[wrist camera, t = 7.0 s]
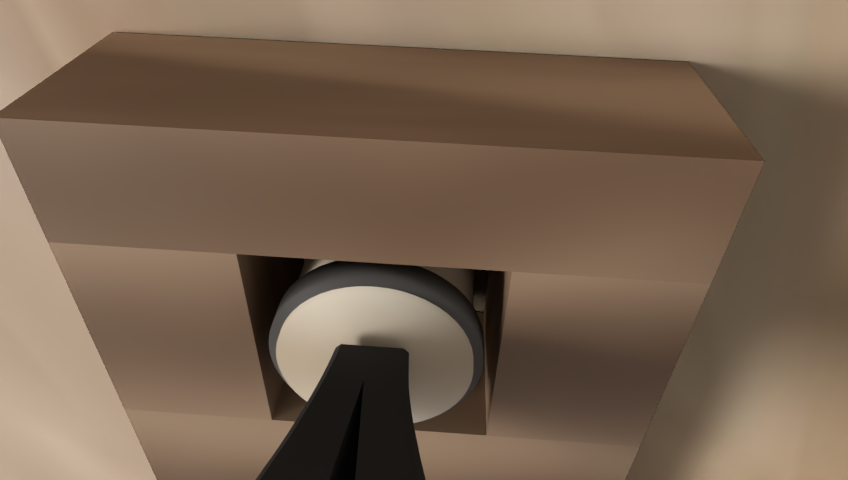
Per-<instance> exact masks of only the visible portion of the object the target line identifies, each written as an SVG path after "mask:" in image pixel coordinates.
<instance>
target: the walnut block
mask: <svg viewBox="0 0 848 480" xmlns="http://www.w3.org/2000/svg"><path fill="white" fill-rule="evenodd" d="M0 139H1V141H2V143H3V145H4V147H5V149H6V152H7V154H8V156H9V158H10V160H11V163H12V165H13V167H14V169H15V171H16V173H17V176H18V178H19V180H20V182H21V184H22V187H23V189H24V191H25V193H26V195H27V197H28V200H29V202H30V204H31V206H32V208H33V210H34V213H35V215H36V217H37V219H38V221H39V224H40V226H41V228H42V230H43V232H44V234H45V237H46V239H47V241H48V243H49V245H50V248H51V250H52V252H53V254H54V256H55V258H56V261H57V263H58V265H59V267H60V269H61V272H62V274H63V276H64V278H65V280H66V282H67V285H68V287H69V289H70V291H71V293H72V295H73V298H74V300H75V302H76V304H77V306H78V309H79V311H80V313H81V315H82V317H83V319H84V322H85V324H86V326H87V328H88V330H89V333H90V335H91V337H92V339H93V341H94V343H95V346H96V348H97V350H98V352H99V354H100V356H101V359H102V361H103V363H104V365H105V367H106V370H107V372H108V374H109V376H110V378H111V380H112V383H113V385H114V387H115V389H116V391H117V394H118V396H119V398H120V400H121V402H122V404H123V407H124V409H125V411H126V413H127V415H128V418H129V420H130V422H131V424H132V426H133V428H134V431H135V433H136V435H137V437H138V439H139V441H140V444H141V446H142V448H143V450H144V452H145V455H146V457H147V459H148V461H149V463H150V465H151V468H152V470H153V472H154V474H155V476H156V479H157V480H256V478H257V477H258V475H259V474H260V473H261V471H262V470H263V468H264V467H265V466H266V464H267V463H268V461H269V460H270V459H271V457H272V456H273V454H274V453H275V451H276V450H277V449H278V447H279V446H280V444H281V443H282V441H283V440H284V438H285V437H286V435H287V434H288V432H289V430H290V429H291V427H292V426H293V424H294V423H295V421H296V419H297V418H298V416H299V415H300V413H301V411H302V410H303V408H304V407H305V405H306V403H307V401H305V400H304V399H303V398H302V397H300V396H299V395H298V394H297V393H296V392H295V391H294V390H293V389H292V388H291V387H290V386H289V385H288V384H287V383H286V382H285V381H284V380H283V379H282V377H281V376H280V374H279V373H278V371H277V370H276V368H275V366H274V363H273V361H272V358H271V355H270V351H269V332H270V329H271V326H272V323H273V320H274V317H275V315H276V312H277V309H278V306H279V304H280V301H281V299H282V298H283V296H284V294H285V292H286V291H287V290H288V289H289V287H290V286H291V285H292V284H293V283H294V282H295V281H296V280H298V279H299V276H300V273H301V271H302V268H303V265H304V259H320V260H336V261H352V262H368V263H383V264H399V265H415V266H431V267H446V268H462V269H478V270H489V275H488V283H487V291H486V299H485V307H484V313H481V312H477V314H478V316H479V319H480V322H481V325H482V331H483V369H482V373H481V376H480V378H479V381H478V383H477V385H476V386H475V388H474V389H473V390H472V392H471V393H470V394H469V395H468V396H467V397H466V398H465V399H464V400H463V401H461V402H460V403H459V404H458V405H456V406H454V407H453V408H451V409H449V410H448V411H445V412H443V413H442V414H440V415H437V416H435V417H433V418H430V419H427V420H424V421H421V422H416V423H414V429H415V434H416V439H417V443H418V448H419V453H420V458H421V462H422V466H423V471H424V475H425V479H426V480H625V479H626V477H627V474H628V472H629V470H630V468H631V465H632V463H633V461H634V458H635V456H636V454H637V452H638V449H639V447H640V445H641V442H642V440H643V438H644V436H645V433H646V431H647V429H648V426H649V424H650V422H651V420H652V417H653V415H654V413H655V410H656V408H657V406H658V404H659V401H660V399H661V397H662V395H663V392H664V390H665V388H666V385H667V383H668V381H669V379H670V376H671V374H672V372H673V369H674V367H675V365H676V363H677V360H678V358H679V356H680V353H681V351H682V349H683V347H684V344H685V342H686V340H687V337H688V335H689V333H690V331H691V328H692V326H693V324H694V321H695V319H696V317H697V315H698V312H699V310H700V308H701V305H702V303H703V301H704V299H705V296H706V294H707V292H708V289H709V287H710V285H711V283H712V280H713V278H714V276H715V273H716V271H717V269H718V267H719V264H720V262H721V260H722V257H723V255H724V253H725V251H726V248H727V246H728V244H729V242H730V239H731V237H732V235H733V232H734V230H735V228H736V226H737V223H738V221H739V219H740V216H741V214H742V212H743V210H744V207H745V205H746V203H747V200H748V198H749V196H750V194H751V191H752V189H753V187H754V184H755V182H756V180H757V178H758V175H759V173H760V171H761V168H762V166H763V164H764V162H765V161H764V160H763V158H762V157H761V156H760V155H759V153H758V152H757V151H756V149H755V148H754V147H753V145H752V144H751V143H750V141H749V140H748V139H747V138H746V136H745V135H744V134H743V132H742V131H741V130H740V128H739V127H738V126H737V124H736V123H735V122H734V121H733V119H732V118H731V117H730V115H729V114H728V113H727V111H726V110H725V109H724V108H723V106H722V105H721V104H720V102H719V101H718V100H717V98H716V97H715V96H714V94H713V93H712V92H711V91H710V89H709V88H708V87H707V85H706V84H705V83H704V81H703V80H702V79H701V77H700V76H699V75H698V74H697V72H696V71H695V70H694V68H693V67H692V66H691V64H690V63H689V62H682V61H663V60H643V59H624V58H604V57H585V56H565V55H546V54H526V53H507V52H487V51H468V50H448V49H428V48H409V47H389V46H370V45H350V44H331V43H311V42H292V41H272V40H253V39H233V38H214V37H194V36H175V35H155V34H136V33H116V32H112V33H111V34H109V35H108V36H106V37H105V38H103V39H102V40H101V41H99V42H98V43H96V44H95V45H93V46H92V47H91V48H89V49H88V50H86V51H85V52H83V53H82V54H81V55H79V56H78V57H76V58H75V59H74V60H72V61H71V62H69V63H68V64H66V65H65V66H64V67H62V68H61V69H59V70H58V71H56V72H55V73H54V74H52V75H51V76H49V77H48V78H46V79H45V80H44V81H42V82H41V83H39V84H38V85H37V86H35V87H34V88H32V89H31V90H29V91H28V92H27V93H25V94H24V95H22V96H21V97H19V98H18V99H17V100H15V101H14V102H12V103H11V104H9V105H8V106H7V107H5V108H4V109H2V110H1V111H0Z"/></svg>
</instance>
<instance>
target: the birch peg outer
mask: <svg viewBox="0 0 848 480" xmlns="http://www.w3.org/2000/svg"><path fill="white" fill-rule="evenodd" d="M340 344H348V345H362V346H376V347H391V348H404V349H405V350H406V351H407V352H409V395H410V403H411V411H412V417H413V423H416V422H421V421H424V420H427V419H430V418H433V417H435V416H437V415H440V414H442V413H443V412H445V411H448V410H449V409H451V408H453V407H454V406H456V405H458V404H459V403H460V402H461V401H463V400H464V399H465V398H466V397H467V396H468V395H469V394H470V393H471V392H472V390H473V389H474V388H475V386H476V385H477V383H478V381H479V378H480V376H481V373H482V369H483V331H482V325H481V322H480V319H479V316H478V314H477V312H476V311H475V309H474V307H473V269H462V268H446V267H431V266H415V265H399V264H383V263H368V262H352V261H336V260H320V259H305V262H304V265H303V268H302V271H301V273H300V276H299V279H298V280H296V281H295V282H294V283H293V284H292V285H291V286H290V287H289V289H288V290H287V291H286V292H285V294H284V296H283V298H282V299H281V301H280V304H279V306H278V309H277V312H276V315H275V317H274V320H273V323H272V326H271V329H270V332H269V351H270V355H271V358H272V361H273V363H274V366H275V368H276V370H277V371H278V373H279V374H280V376H281V377H282V379H283V380H284V381H285V382H286V383H287V384H288V385H289V386H290V387H291V388H292V389H293V390H294V391H295V392H296V393H297V394H298V395H299V396H300V397H302V398H303V399H304V400H305V401H307V402H308V400H309V398H310V396H311V395H312V393H313V391H314V390H315V388H316V386H317V384H318V382H319V381H320V379H321V377H322V375H323V373H324V371H325V369H326V367H327V365H328V363H329V361H330V359H331V357H332V355H333V352H334V350H335V348H336V347H337V346H339V345H340Z"/></svg>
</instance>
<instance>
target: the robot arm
mask: <svg viewBox="0 0 848 480" xmlns="http://www.w3.org/2000/svg"><path fill="white" fill-rule="evenodd" d="M256 480H426V479H425V475H424V471H423V466H422V462H421V458H420V453H419V448H418V443H417V439H416V434H415V429H414V423H413V417H412V411H411V403H410V395H409V352H407V351H406V350H405V349H404V348H391V347H376V346H362V345H348V344H340V345H339V346H337V347H336V348H335V350H334V352H333V355H332V357H331V359H330V361H329V363H328V365H327V367H326V369H325V371H324V373H323V375H322V377H321V379H320V381H319V382H318V384H317V386H316V388H315V390H314V391H313V393H312V395H311V396H310V398H309V400H308V402H307V403H306V405H305V407H304V408H303V410H302V411H301V413H300V415H299V416H298V418H297V419H296V421H295V423H294V424H293V426H292V427H291V429H290V430H289V432H288V434H287V435H286V437H285V438H284V440H283V441H282V443H281V444H280V446H279V447H278V449H277V450H276V451H275V453H274V454H273V456H272V457H271V459H270V460H269V461H268V463H267V464H266V466H265V467H264V468H263V470H262V471H261V473H260V474H259V475H258V477H257V478H256Z"/></svg>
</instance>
